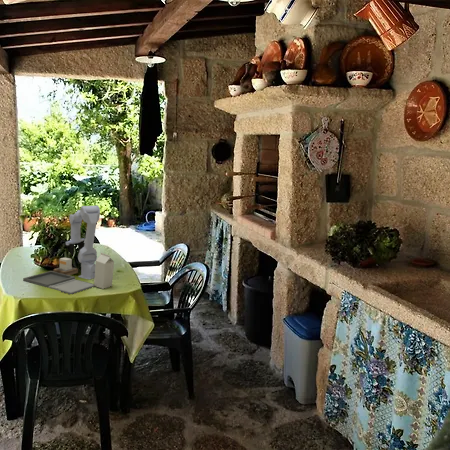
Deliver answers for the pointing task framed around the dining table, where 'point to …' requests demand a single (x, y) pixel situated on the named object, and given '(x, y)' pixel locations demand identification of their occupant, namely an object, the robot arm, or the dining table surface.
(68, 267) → the block
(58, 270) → the stand
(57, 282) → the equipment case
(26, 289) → the dining table surface
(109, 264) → the milk carton
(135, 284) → the dining table surface
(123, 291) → the dining table surface
